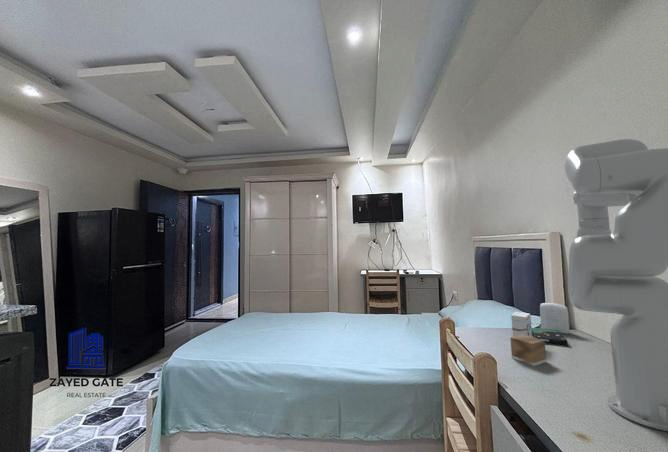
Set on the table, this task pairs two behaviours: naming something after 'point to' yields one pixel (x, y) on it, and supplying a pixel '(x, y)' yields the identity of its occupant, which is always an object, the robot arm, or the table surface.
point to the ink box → (521, 324)
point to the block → (528, 349)
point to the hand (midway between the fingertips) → (598, 275)
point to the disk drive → (550, 336)
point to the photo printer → (554, 317)
